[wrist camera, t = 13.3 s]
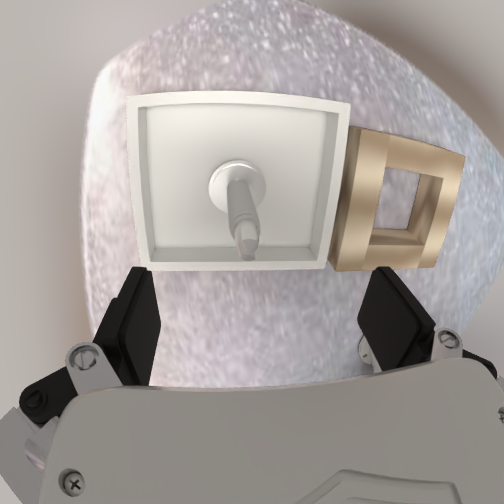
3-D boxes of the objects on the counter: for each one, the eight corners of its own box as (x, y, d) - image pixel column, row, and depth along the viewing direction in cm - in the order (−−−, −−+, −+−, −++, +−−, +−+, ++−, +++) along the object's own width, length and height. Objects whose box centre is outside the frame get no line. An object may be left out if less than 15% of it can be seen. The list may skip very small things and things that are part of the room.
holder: (417, 251, 32) (433, 267, 29) (323, 251, 31) (335, 271, 27) (443, 148, 25) (465, 156, 22) (342, 124, 24) (361, 129, 20)
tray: (314, 251, 30) (324, 269, 27) (149, 252, 28) (141, 270, 25) (335, 103, 23) (350, 104, 20) (138, 97, 20) (126, 96, 17)
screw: (228, 215, 26) (199, 174, 24) (272, 189, 26) (245, 146, 23) (234, 307, 15) (180, 242, 13) (313, 265, 14) (269, 188, 12)
